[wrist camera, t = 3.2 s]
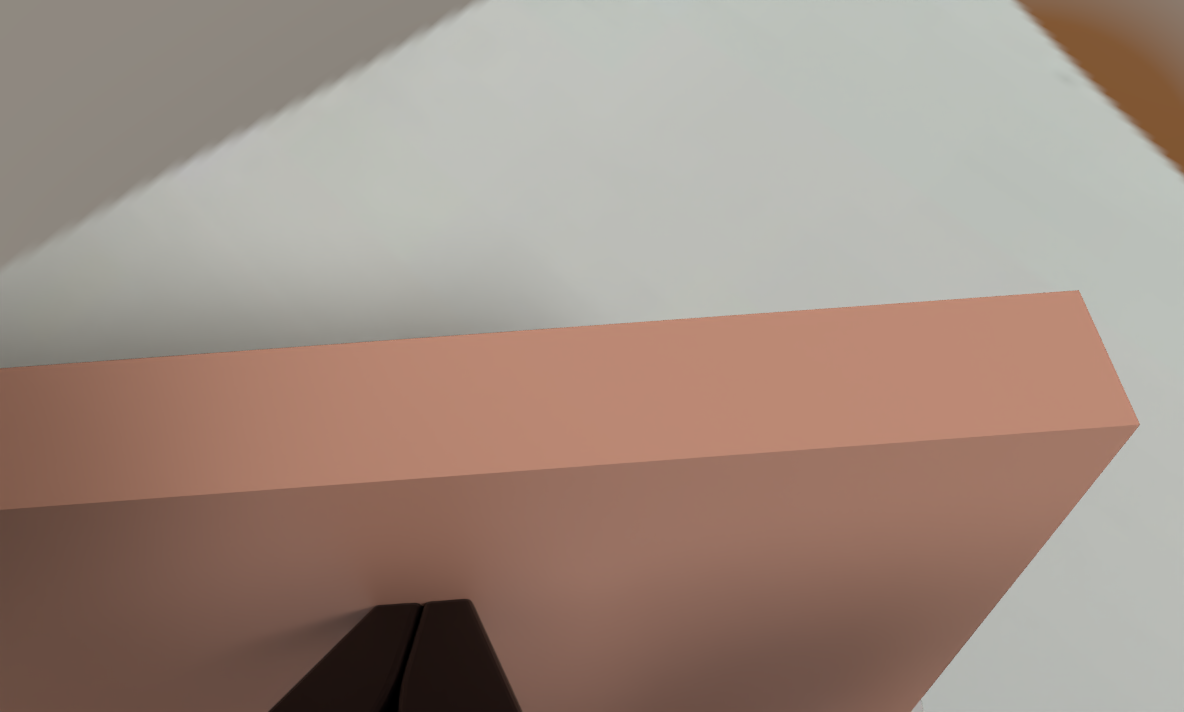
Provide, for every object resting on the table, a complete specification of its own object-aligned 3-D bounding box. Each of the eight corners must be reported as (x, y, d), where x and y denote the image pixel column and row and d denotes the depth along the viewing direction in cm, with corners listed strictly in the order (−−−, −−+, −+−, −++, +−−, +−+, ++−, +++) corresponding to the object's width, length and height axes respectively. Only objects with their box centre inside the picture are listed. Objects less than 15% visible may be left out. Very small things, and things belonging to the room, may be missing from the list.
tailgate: (917, 759, 15) (1240, 416, 7) (63, 827, 14) (-582, 552, 7) (896, 677, 15) (1171, 283, 8) (82, 741, 15) (-482, 403, 7)
